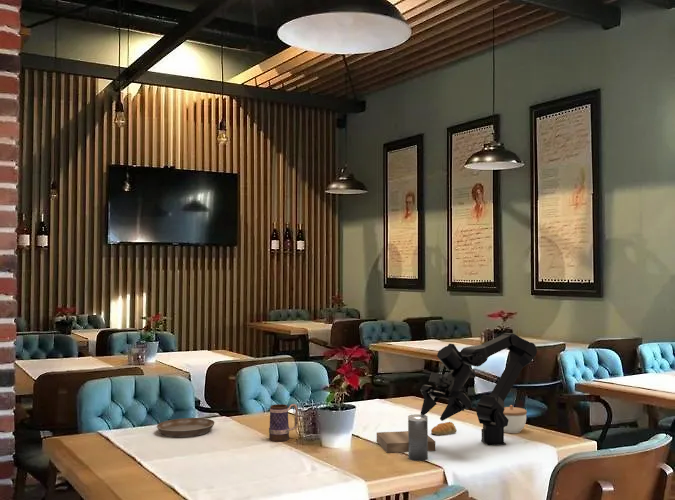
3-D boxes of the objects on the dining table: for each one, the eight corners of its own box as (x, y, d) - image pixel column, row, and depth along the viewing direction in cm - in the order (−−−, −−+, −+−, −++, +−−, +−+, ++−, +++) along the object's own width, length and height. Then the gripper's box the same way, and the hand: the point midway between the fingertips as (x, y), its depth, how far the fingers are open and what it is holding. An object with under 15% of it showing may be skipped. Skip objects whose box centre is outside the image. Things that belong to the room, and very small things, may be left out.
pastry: (440, 437, 258) (440, 426, 258) (426, 434, 264) (426, 423, 264) (458, 433, 264) (458, 422, 265) (444, 430, 270) (443, 420, 270)
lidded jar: (530, 430, 268) (530, 404, 268) (521, 436, 259) (520, 409, 259) (502, 426, 274) (502, 401, 274) (491, 432, 265) (491, 406, 265)
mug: (270, 442, 252) (270, 407, 252) (267, 437, 259) (267, 403, 259) (300, 440, 254) (299, 405, 254) (296, 436, 261) (296, 401, 261)
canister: (424, 455, 233) (424, 414, 234) (430, 460, 228) (429, 417, 228) (406, 456, 232) (406, 414, 233) (411, 461, 227) (410, 418, 227)
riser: (422, 439, 255) (421, 430, 255) (435, 450, 239) (435, 441, 239) (376, 441, 252) (376, 432, 252) (387, 453, 237) (387, 443, 237)
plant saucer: (156, 440, 256) (156, 431, 256) (156, 428, 276) (156, 419, 276) (216, 437, 261) (216, 427, 261) (212, 425, 281) (212, 416, 281)
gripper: (424, 360, 244) (398, 396, 238) (464, 366, 229) (437, 405, 223) (442, 381, 249) (417, 418, 242) (482, 389, 233) (456, 429, 227)
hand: (431, 417), depth 233 cm, fingers open, 9 cm apart
